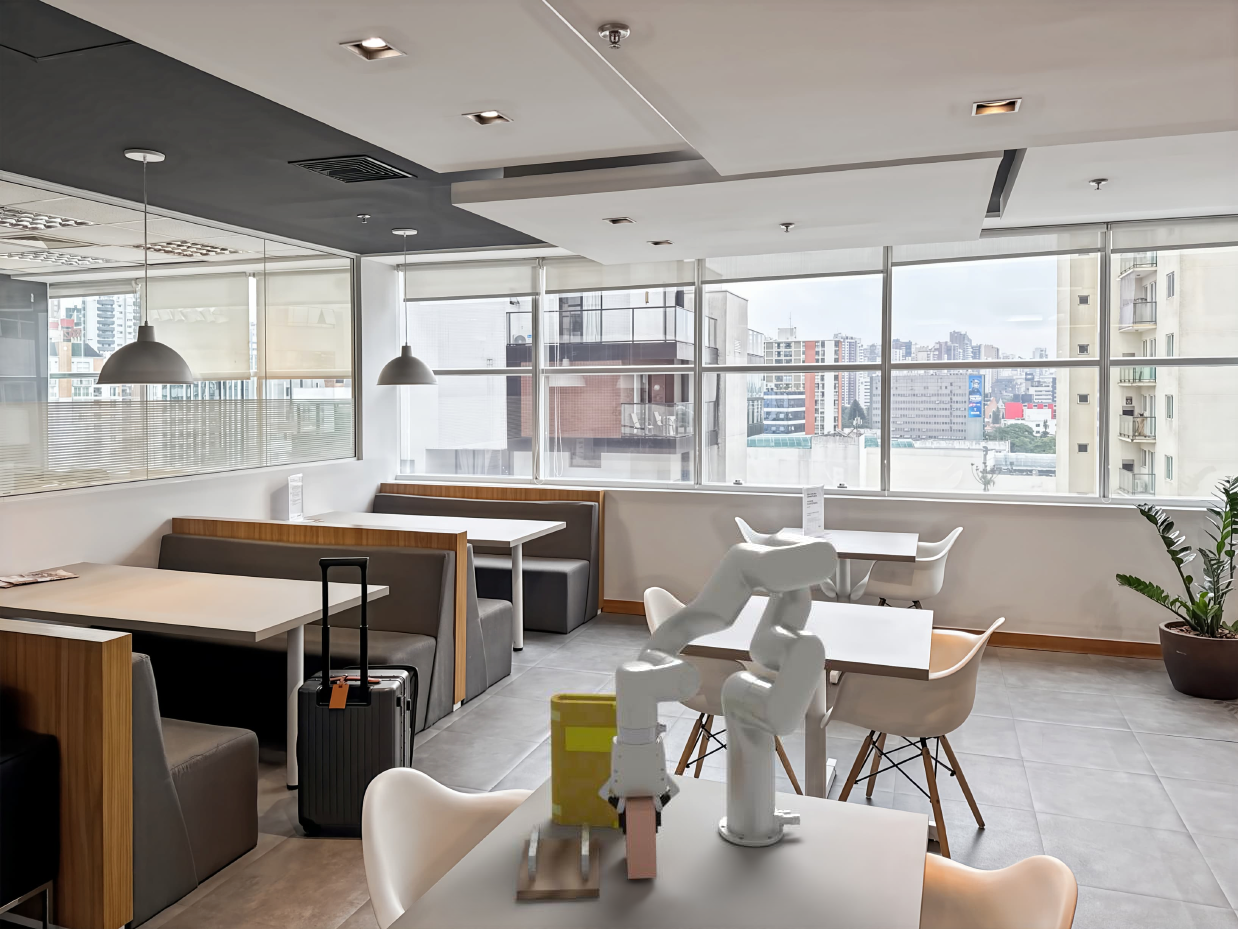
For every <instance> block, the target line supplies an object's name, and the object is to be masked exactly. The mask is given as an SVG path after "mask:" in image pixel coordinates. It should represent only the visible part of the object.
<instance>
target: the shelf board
mask: <svg viewBox="0 0 1238 929" xmlns="http://www.w3.org/2000/svg"><path fill="white" fill-rule="evenodd" d="M530 842H531V838H529V839H524V843H523V844H524V845H523V851H522V855H521V856H522V857H521V862H520V863H521V864H520V868H519V869H520V870H519V875H518V880H517V887H516V888H517V889H516V900H536V899H535V898H552V899H574V898H573V897H592V898H600V854H599V853H600V844H599V837H589V880H582V837H580V838H578V837H577V838H576V837H575V838H574V837H573V838H571V837H570V838H540V851H539V859H538V867H537V875H536V881H529V859H528V855H529V849H530ZM529 898H531V899H529Z"/></svg>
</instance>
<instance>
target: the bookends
mask: <svg viewBox="0 0 1238 929" xmlns="http://www.w3.org/2000/svg"><path fill="white" fill-rule="evenodd" d="M540 827H541V826H540V822H539V823H536V822H535V823H532V828H531V830H532V831H531V836H530V839H531V842H530V849H529V855H528V859H529V881H536V875H537V867H538V859H539V851H540V839H541V836H540V835H541V830H540ZM581 827H582V829H581V838H582V880H589V838H590V826H589V822H582V825H581Z"/></svg>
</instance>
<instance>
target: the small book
mask: <svg viewBox="0 0 1238 929" xmlns="http://www.w3.org/2000/svg"><path fill="white" fill-rule="evenodd" d="M625 808H626V835H625V854H626V855H625V856H626V868H627V877H628V878H627V879H629V880H630V879H651V878H654V879H655V878H658V876H657V875H658V873H657V872H658V871H657V866H658V865H657V835H656V834H657V833H656V823H655V806H654V800H653V798H652V796H645V797H627V799H626V803H625Z"/></svg>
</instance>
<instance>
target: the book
mask: <svg viewBox="0 0 1238 929" xmlns="http://www.w3.org/2000/svg"><path fill="white" fill-rule="evenodd" d="M615 736H617V723H616V694H613V693H612V694H607V693H606V694H605V693H572V692H571V693H570V692H569V693H566V692H565V693H564V692H563V693H558V694H554V695H552V696H551V697H550V764H551V766H550V767H551V768H550V769H551V772H550V773H551V776H550V777H551V821H552V822H553V823H555V824H557V825H562V826H563V825H564V826H582V822H589V827H590V826H591V827H607V826H612V827H611V828H614V829H620V828H619V824H618V812H617V810H616V809H615V808H614V807H613V806H612V805H611V804H609V802H608V801H607V800H605V799H603V798H602V797H601V796H599V794H598V790H599V788H600V787H601V786H602V785H603V783H604V782H605V781H606V779H607V778H608V777H609V775H610V762H611V747H612V741H613V738H614V737H615ZM608 791H609V792H610V793H611V794H612V790H611V788H610V789H609V790H608ZM616 797H617V796H616ZM617 798H618V797H617Z"/></svg>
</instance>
